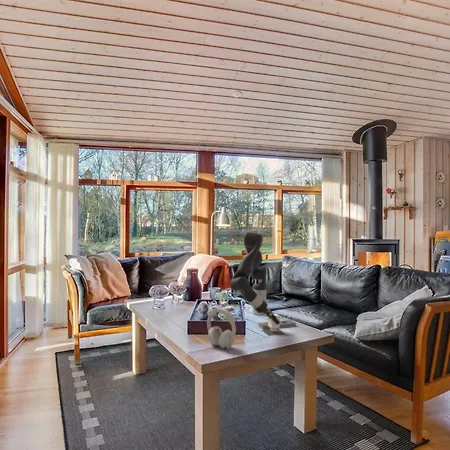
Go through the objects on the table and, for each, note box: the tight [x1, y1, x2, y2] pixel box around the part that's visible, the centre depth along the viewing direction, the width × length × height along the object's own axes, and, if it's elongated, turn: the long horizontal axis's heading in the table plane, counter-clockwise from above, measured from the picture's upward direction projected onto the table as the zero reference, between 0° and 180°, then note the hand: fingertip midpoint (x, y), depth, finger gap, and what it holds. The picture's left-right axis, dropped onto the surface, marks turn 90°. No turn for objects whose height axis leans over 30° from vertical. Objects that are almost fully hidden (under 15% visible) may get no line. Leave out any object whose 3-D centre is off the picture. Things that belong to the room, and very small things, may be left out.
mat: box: [261, 328, 287, 337], centre depth 213 cm, size 11×11×1 cm
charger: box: [267, 313, 281, 331], centre depth 213 cm, size 5×5×9 cm
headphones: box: [206, 307, 237, 350], centre depth 189 cm, size 19×8×20 cm, turn 47°
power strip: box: [257, 319, 297, 330], centre depth 225 cm, size 7×22×3 cm, turn 107°
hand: (276, 322), depth 213 cm, fingers closed on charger, 5 cm apart
